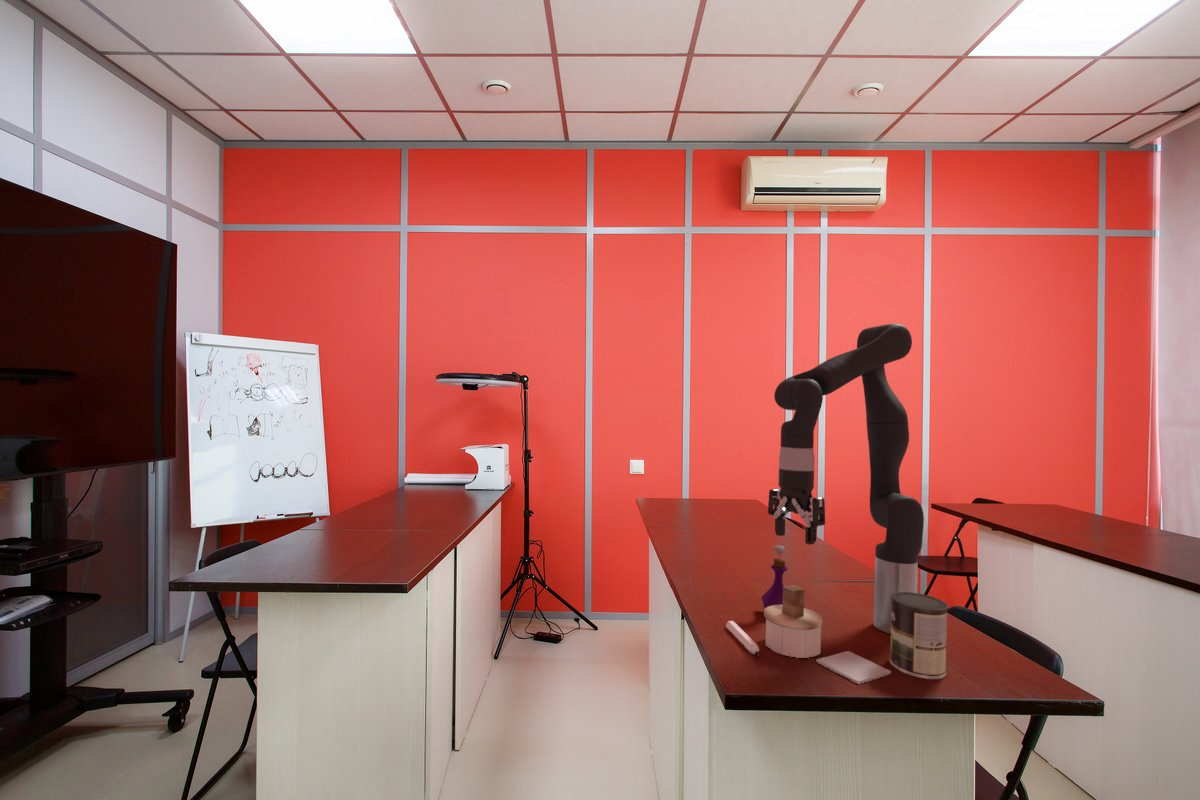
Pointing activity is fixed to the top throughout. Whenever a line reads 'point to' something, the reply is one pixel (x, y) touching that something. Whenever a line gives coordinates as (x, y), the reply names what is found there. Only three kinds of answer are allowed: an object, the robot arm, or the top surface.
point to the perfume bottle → (776, 582)
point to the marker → (743, 637)
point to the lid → (793, 611)
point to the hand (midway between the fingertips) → (794, 539)
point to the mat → (853, 667)
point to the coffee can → (918, 635)
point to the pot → (793, 641)
